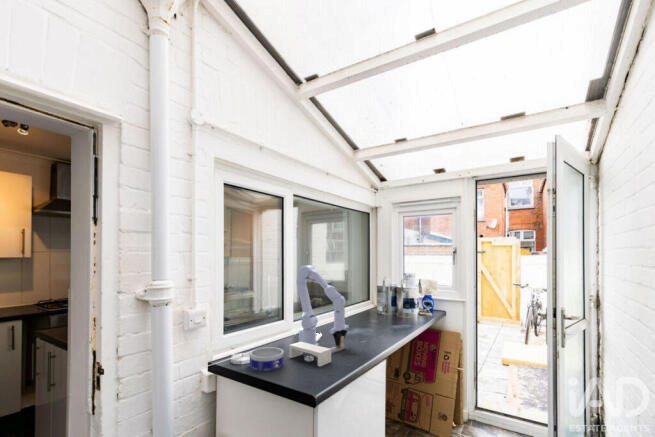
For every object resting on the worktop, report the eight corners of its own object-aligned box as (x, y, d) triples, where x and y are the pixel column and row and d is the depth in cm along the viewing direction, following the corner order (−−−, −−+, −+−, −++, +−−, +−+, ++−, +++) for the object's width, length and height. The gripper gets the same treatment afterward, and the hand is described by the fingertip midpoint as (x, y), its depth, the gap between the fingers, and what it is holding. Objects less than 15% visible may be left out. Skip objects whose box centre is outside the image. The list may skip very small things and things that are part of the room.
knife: (314, 329, 217) (326, 329, 216) (314, 331, 217) (326, 331, 215) (304, 339, 188) (317, 339, 186) (304, 341, 187) (317, 342, 186)
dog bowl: (268, 373, 138) (269, 359, 139) (242, 367, 145) (242, 353, 146) (289, 363, 151) (290, 350, 152) (264, 358, 159) (264, 345, 159)
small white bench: (289, 357, 159) (289, 344, 159) (300, 353, 165) (300, 341, 166) (320, 366, 146) (320, 352, 147) (331, 362, 152) (331, 348, 153)
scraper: (311, 356, 160) (311, 343, 161) (337, 347, 177) (337, 334, 177) (319, 358, 157) (319, 344, 158) (344, 348, 173) (344, 336, 174)
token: (302, 360, 155) (302, 357, 155) (308, 358, 158) (308, 355, 158) (309, 362, 152) (309, 359, 152) (315, 360, 155) (315, 357, 156)
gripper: (337, 322, 168) (337, 349, 166) (353, 317, 179) (353, 343, 177) (326, 320, 172) (326, 346, 171) (342, 316, 183) (342, 341, 182)
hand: (339, 344), depth 174 cm, fingers closed on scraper, 2 cm apart
